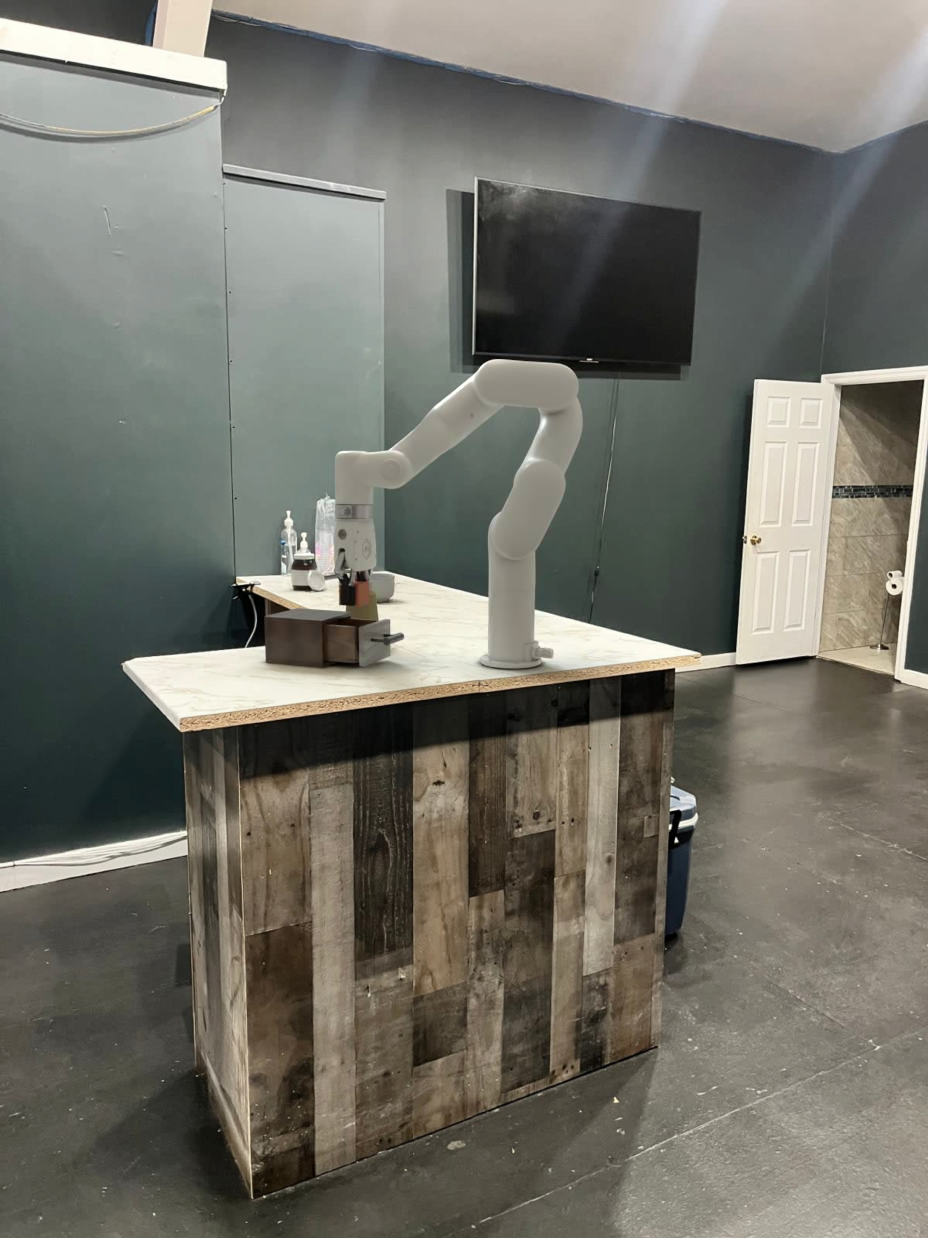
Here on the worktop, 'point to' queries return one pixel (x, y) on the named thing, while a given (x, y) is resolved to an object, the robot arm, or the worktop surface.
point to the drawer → (358, 640)
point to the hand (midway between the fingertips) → (354, 602)
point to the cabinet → (299, 636)
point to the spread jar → (306, 573)
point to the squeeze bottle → (366, 607)
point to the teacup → (382, 585)
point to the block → (360, 593)
